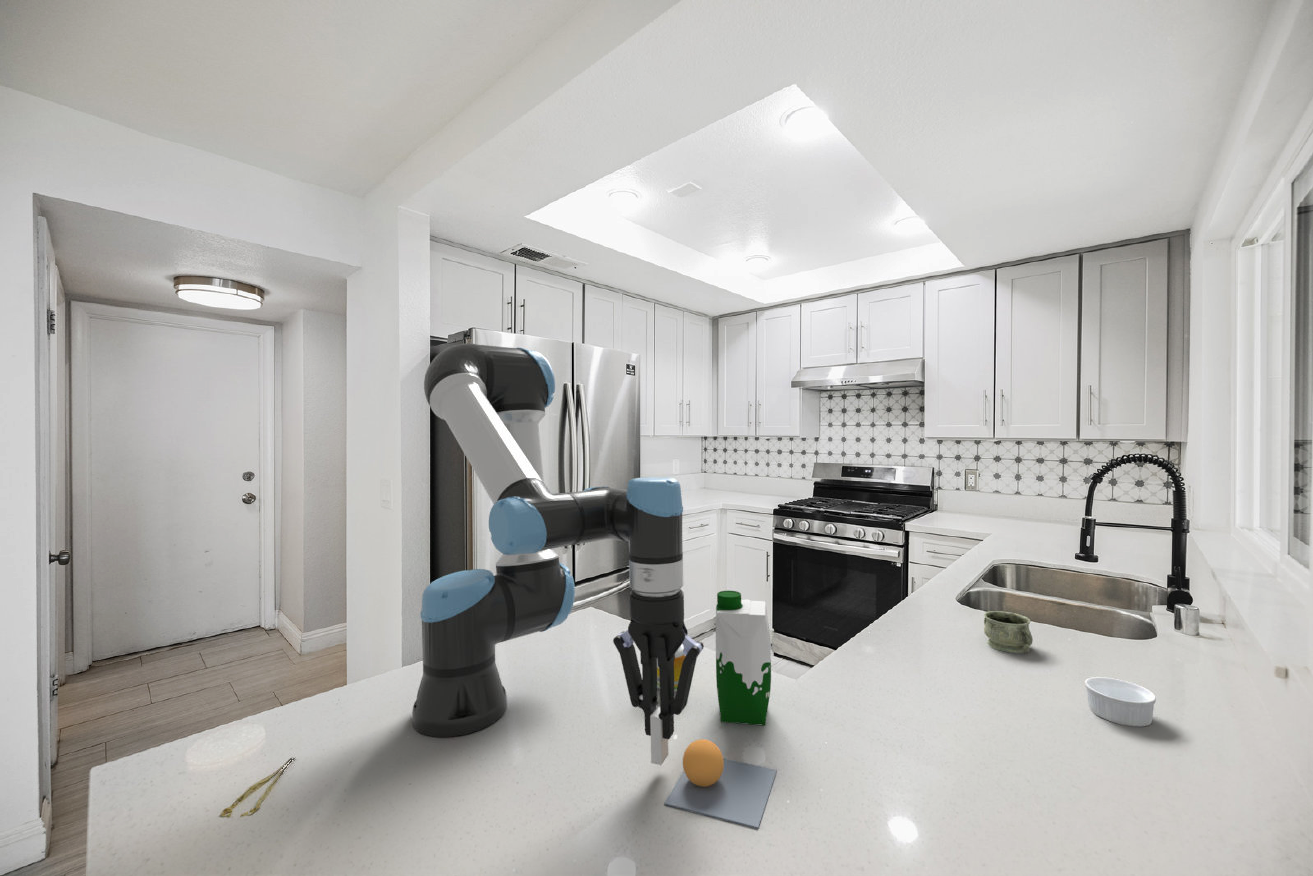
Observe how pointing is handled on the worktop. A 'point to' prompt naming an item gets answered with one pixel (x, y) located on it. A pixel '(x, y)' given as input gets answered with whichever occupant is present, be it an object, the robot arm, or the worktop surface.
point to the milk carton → (742, 659)
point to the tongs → (253, 789)
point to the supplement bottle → (677, 667)
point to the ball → (703, 763)
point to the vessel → (1007, 631)
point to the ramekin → (1120, 701)
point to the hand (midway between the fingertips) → (659, 758)
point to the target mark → (727, 794)
